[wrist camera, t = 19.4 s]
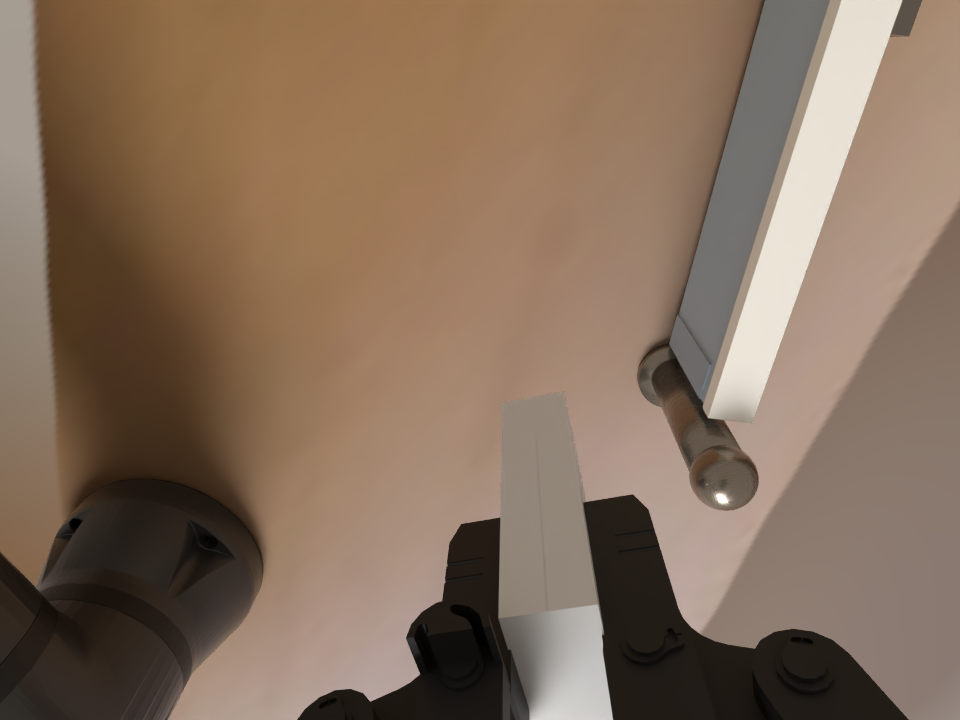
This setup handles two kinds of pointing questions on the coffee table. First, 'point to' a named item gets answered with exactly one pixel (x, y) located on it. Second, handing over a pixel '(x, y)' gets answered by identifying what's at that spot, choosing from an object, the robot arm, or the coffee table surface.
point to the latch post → (905, 18)
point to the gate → (775, 191)
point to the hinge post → (698, 434)
